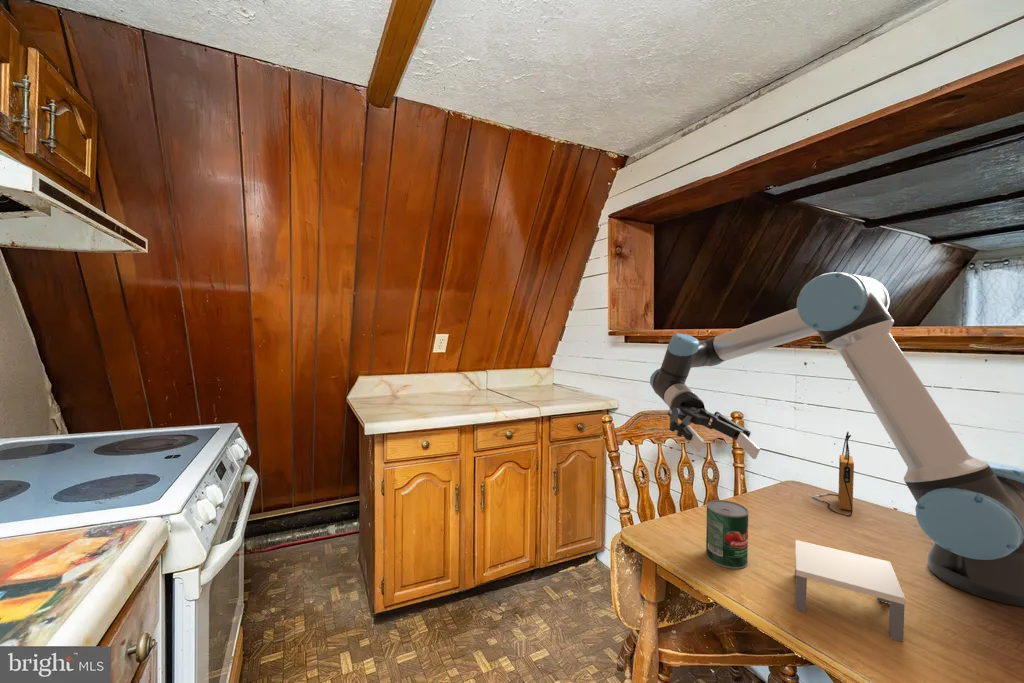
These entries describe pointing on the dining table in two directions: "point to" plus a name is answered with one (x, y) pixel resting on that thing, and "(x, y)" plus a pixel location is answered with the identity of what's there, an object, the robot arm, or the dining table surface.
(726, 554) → the canned tomato
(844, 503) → the multimeter
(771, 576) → the dining table surface
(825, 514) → the dining table surface
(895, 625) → the shelf
